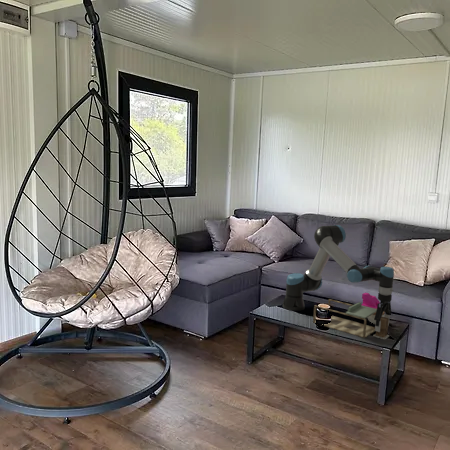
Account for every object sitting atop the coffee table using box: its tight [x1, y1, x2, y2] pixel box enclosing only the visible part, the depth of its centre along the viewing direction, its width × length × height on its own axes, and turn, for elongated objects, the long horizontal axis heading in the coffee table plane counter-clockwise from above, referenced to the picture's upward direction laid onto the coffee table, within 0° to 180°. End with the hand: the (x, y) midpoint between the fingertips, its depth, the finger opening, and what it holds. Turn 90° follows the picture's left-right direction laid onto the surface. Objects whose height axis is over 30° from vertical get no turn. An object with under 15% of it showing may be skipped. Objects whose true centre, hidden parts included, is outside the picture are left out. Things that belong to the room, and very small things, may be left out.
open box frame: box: [312, 298, 376, 339], centre depth 280 cm, size 34×20×11 cm, turn 49°
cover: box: [345, 301, 377, 319], centre depth 272 cm, size 12×20×3 cm, turn 139°
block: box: [375, 316, 390, 338], centre depth 265 cm, size 5×5×10 cm
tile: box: [373, 333, 390, 340], centre depth 266 cm, size 7×7×1 cm
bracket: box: [361, 292, 381, 308], centre depth 317 cm, size 12×10×10 cm
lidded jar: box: [366, 308, 385, 325], centre depth 288 cm, size 11×11×9 cm
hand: (381, 328), depth 265 cm, fingers open, 13 cm apart
